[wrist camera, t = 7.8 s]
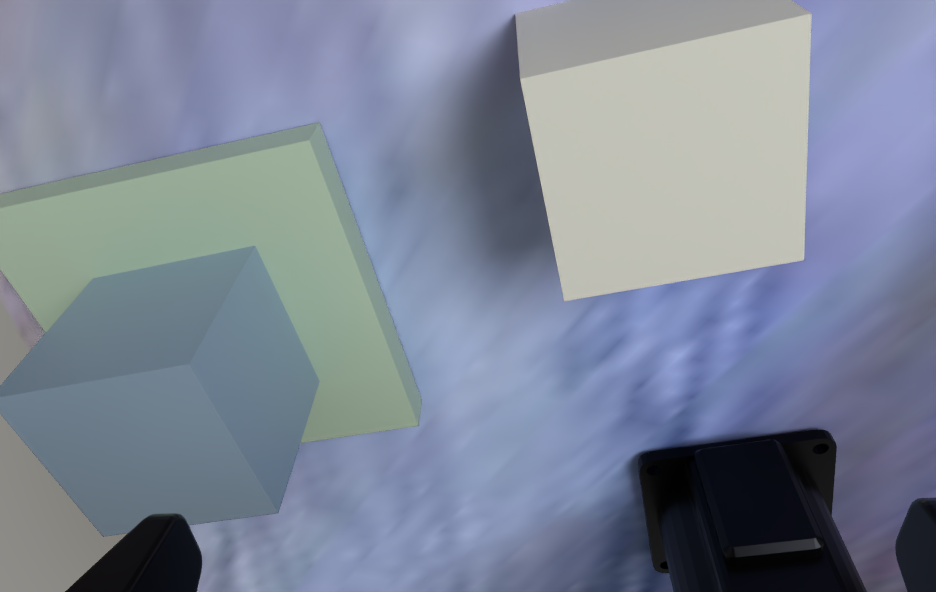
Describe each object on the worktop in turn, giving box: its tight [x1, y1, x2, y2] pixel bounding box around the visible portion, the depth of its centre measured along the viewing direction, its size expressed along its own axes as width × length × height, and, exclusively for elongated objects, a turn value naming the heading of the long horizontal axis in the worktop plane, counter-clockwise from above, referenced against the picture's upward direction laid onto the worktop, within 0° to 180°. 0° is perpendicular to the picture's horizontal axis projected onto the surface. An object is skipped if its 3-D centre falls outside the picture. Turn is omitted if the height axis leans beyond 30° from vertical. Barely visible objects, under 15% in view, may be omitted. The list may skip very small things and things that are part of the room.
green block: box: [0, 123, 422, 443], centre depth 22 cm, size 10×10×1 cm
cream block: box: [515, 0, 811, 301], centre depth 16 cm, size 5×5×5 cm
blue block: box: [0, 246, 320, 537], centre depth 19 cm, size 5×5×5 cm
